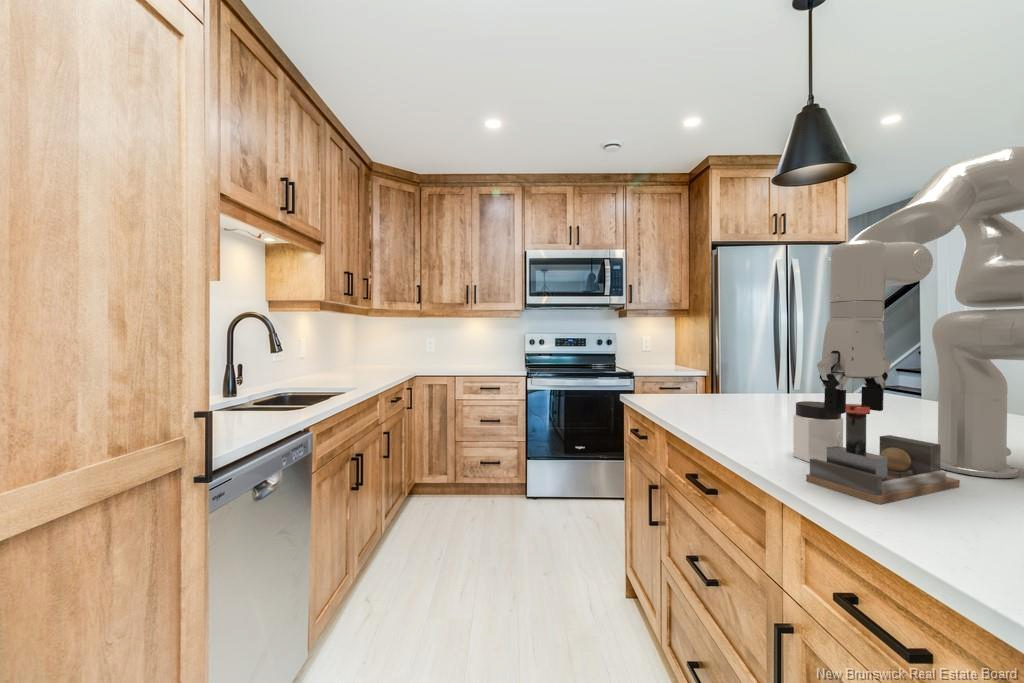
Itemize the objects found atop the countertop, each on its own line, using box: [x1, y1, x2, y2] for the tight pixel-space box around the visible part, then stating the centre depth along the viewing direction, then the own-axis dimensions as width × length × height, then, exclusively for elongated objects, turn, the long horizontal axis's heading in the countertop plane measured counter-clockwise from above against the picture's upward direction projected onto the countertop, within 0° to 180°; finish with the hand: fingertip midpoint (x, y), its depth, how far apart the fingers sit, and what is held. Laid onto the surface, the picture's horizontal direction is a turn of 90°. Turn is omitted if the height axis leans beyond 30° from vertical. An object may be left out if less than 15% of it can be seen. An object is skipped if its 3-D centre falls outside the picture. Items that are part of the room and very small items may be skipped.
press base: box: [805, 434, 961, 505], centre depth 80 cm, size 22×12×7 cm, turn 110°
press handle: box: [827, 403, 887, 482], centre depth 77 cm, size 4×8×13 cm, turn 20°
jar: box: [792, 400, 844, 463], centre depth 95 cm, size 9×8×12 cm
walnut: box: [879, 447, 911, 472], centre depth 81 cm, size 4×4×4 cm
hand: (853, 410), depth 77 cm, fingers open, 9 cm apart
